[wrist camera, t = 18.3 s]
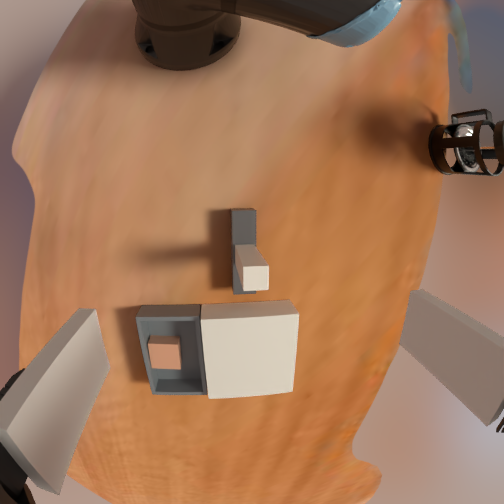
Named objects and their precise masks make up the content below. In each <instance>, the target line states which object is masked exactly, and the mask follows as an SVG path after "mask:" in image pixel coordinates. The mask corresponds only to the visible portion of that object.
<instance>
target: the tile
mask: <svg viewBox="0 0 504 504" xmlns="http://www.w3.org/2000/svg"><path fill="white" fill-rule="evenodd" d="M148 349H149V355H150V361H151V367H152V368H158V369H181V364H182V356H181V346H180V336H159V335H151V336H150V339H149V341H148Z"/></svg>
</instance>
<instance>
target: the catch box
mask: <svg viewBox="0 0 504 504" xmlns="http://www.w3.org/2000/svg"><path fill="white" fill-rule="evenodd" d="M136 323H137V328H138V333H139V339H140V344H141V348H142V353H143V358H144V362H145V366H146V371H147V375H148V379H149V383H150V387H151V391H152V394H156V395H207V380H206V371H205V362H204V352H203V342H202V331H201V307H200V304H191V305H142V306H141V308H140V310H139V311H138V313H137V315H136ZM151 335H159V336H180V346H181V356H182V364H181V369H158V368H152V367H151V361H150V355H149V349H148V341H149V339H150V336H151Z"/></svg>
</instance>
